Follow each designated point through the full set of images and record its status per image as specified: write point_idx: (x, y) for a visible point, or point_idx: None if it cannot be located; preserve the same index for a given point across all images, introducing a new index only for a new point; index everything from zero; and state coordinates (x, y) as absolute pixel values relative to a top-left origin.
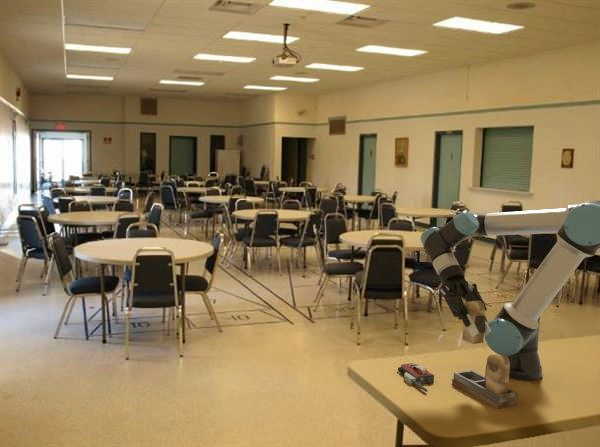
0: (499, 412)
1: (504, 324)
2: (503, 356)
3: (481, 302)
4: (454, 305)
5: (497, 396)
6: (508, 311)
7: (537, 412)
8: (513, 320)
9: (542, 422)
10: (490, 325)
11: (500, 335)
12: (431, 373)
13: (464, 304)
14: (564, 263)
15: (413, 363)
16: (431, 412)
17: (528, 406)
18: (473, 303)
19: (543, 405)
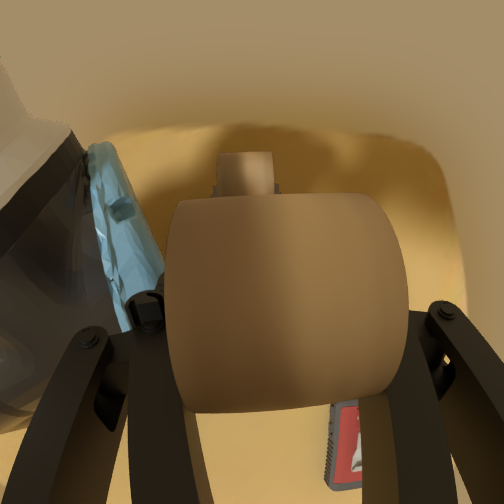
0: (285, 180)
1: (121, 170)
2: (234, 155)
3: (185, 225)
4: (497, 358)
5: (278, 185)
6: (37, 153)
7: (204, 157)
8: (74, 141)
9: (232, 125)
10: (158, 260)
11: (146, 225)
12: (334, 418)
13: (385, 385)
14: None
15: (341, 488)
16: (423, 230)
17: (197, 185)
18: (358, 217)
19: (162, 180)
